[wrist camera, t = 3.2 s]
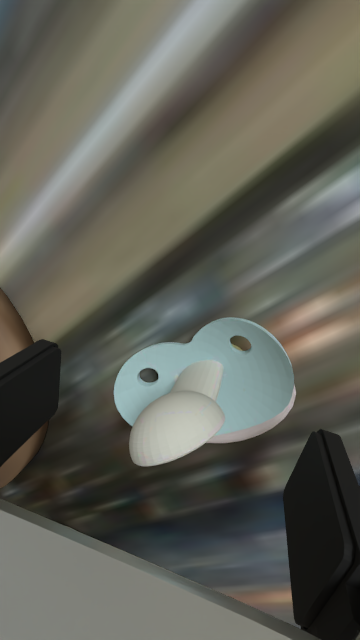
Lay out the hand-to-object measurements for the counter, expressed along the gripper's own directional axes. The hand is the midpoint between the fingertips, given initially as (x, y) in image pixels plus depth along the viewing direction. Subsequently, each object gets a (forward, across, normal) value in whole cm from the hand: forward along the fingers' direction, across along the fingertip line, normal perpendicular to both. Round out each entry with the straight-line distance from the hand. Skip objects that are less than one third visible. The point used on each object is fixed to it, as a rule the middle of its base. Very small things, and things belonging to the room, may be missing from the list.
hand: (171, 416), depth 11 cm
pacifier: (+4, -1, 0) cm, 4 cm away
